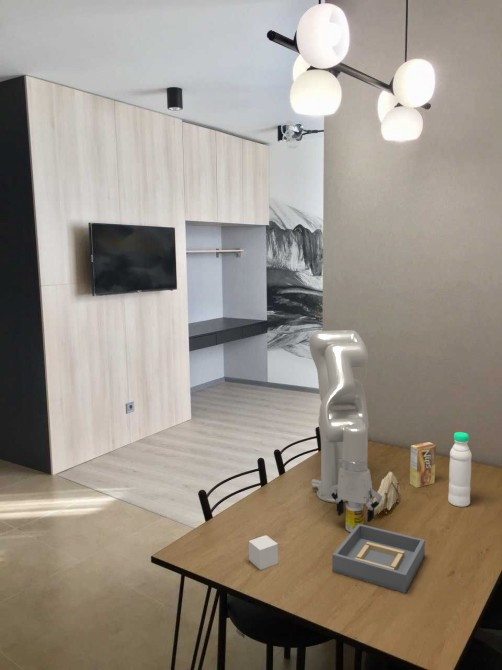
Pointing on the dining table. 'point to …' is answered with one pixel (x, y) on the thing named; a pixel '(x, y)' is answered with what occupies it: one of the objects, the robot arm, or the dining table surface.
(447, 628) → the dining table surface
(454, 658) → the dining table surface
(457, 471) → the water bottle
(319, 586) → the dining table surface
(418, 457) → the candy box
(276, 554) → the white cube
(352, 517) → the supplement bottle
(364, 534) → the walled box
